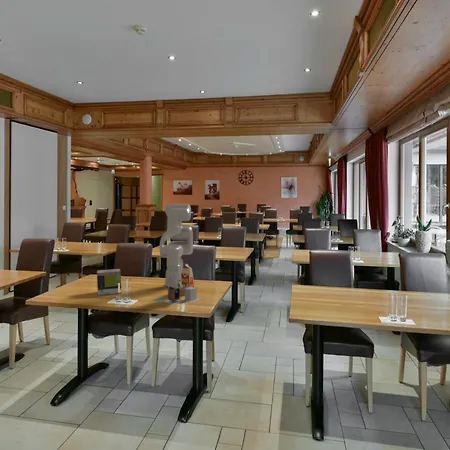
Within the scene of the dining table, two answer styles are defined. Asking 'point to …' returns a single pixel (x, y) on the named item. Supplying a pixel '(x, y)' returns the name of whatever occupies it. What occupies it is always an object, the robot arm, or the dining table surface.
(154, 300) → the coaster
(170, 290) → the walnut block
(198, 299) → the code tile
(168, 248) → the robot arm
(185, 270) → the milk carton
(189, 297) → the grey block
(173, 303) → the code tile
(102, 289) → the tea box
